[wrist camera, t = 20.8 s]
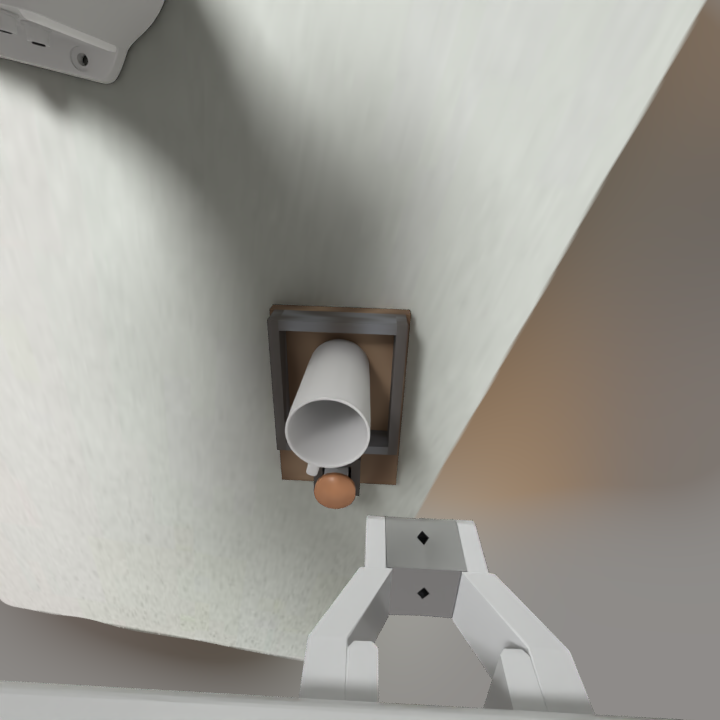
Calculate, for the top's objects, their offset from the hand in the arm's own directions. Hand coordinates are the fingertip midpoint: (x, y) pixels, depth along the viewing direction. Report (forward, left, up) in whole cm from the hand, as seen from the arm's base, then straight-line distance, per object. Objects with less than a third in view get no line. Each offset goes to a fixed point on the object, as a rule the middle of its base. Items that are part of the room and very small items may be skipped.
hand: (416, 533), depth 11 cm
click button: (-5, -22, -29) cm, 37 cm away
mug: (-5, -11, -30) cm, 32 cm away
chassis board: (-5, -15, -31) cm, 35 cm away
